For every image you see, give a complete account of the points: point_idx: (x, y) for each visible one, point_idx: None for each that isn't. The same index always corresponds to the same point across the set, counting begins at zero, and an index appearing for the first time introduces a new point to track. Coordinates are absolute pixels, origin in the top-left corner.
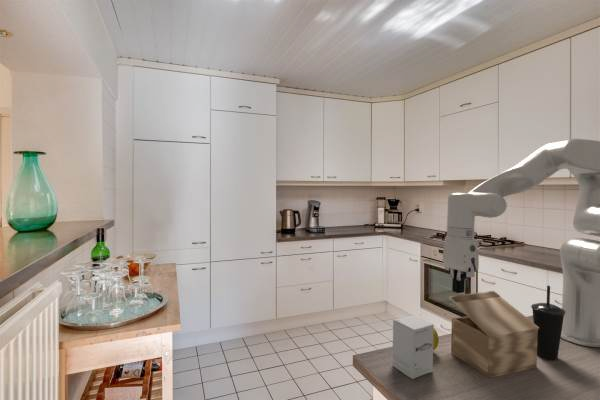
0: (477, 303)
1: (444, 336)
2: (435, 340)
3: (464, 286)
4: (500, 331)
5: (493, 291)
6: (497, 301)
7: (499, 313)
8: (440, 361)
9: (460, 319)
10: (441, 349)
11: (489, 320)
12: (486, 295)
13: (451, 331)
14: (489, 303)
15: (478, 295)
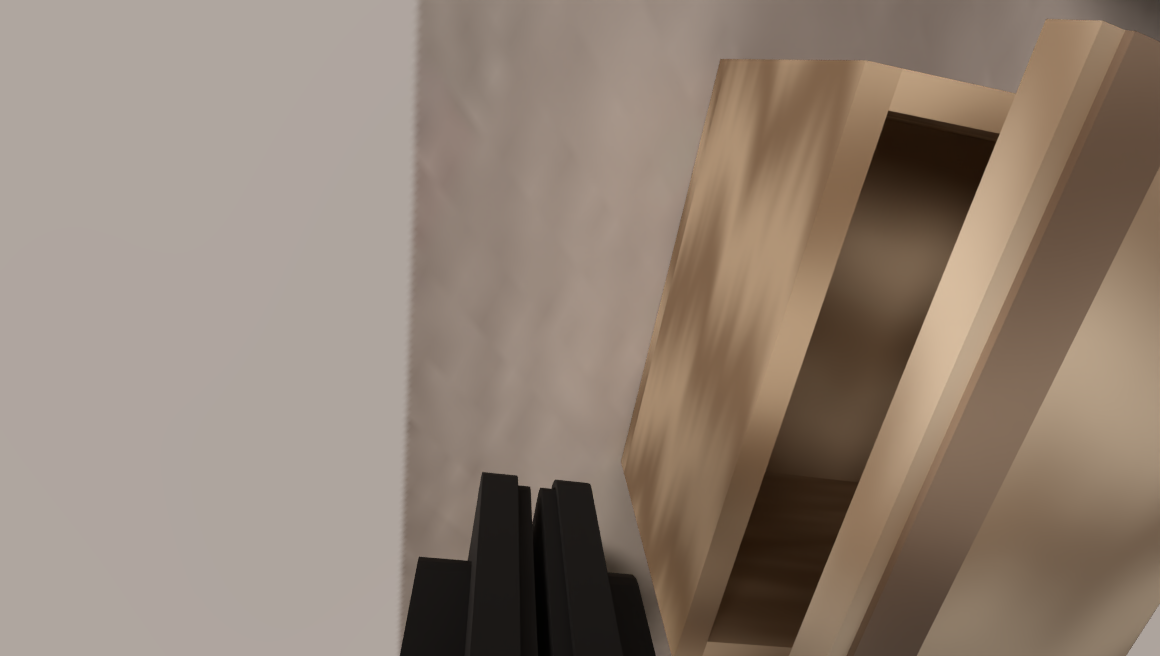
0: (955, 643)
1: (418, 298)
2: None
3: (602, 554)
4: (1137, 619)
5: (1103, 48)
6: (1148, 293)
7: (1149, 472)
8: (650, 581)
9: (719, 591)
10: (557, 476)
11: (1074, 646)
12: (1018, 383)
13: (649, 567)
14: (1060, 471)
15: (930, 539)
